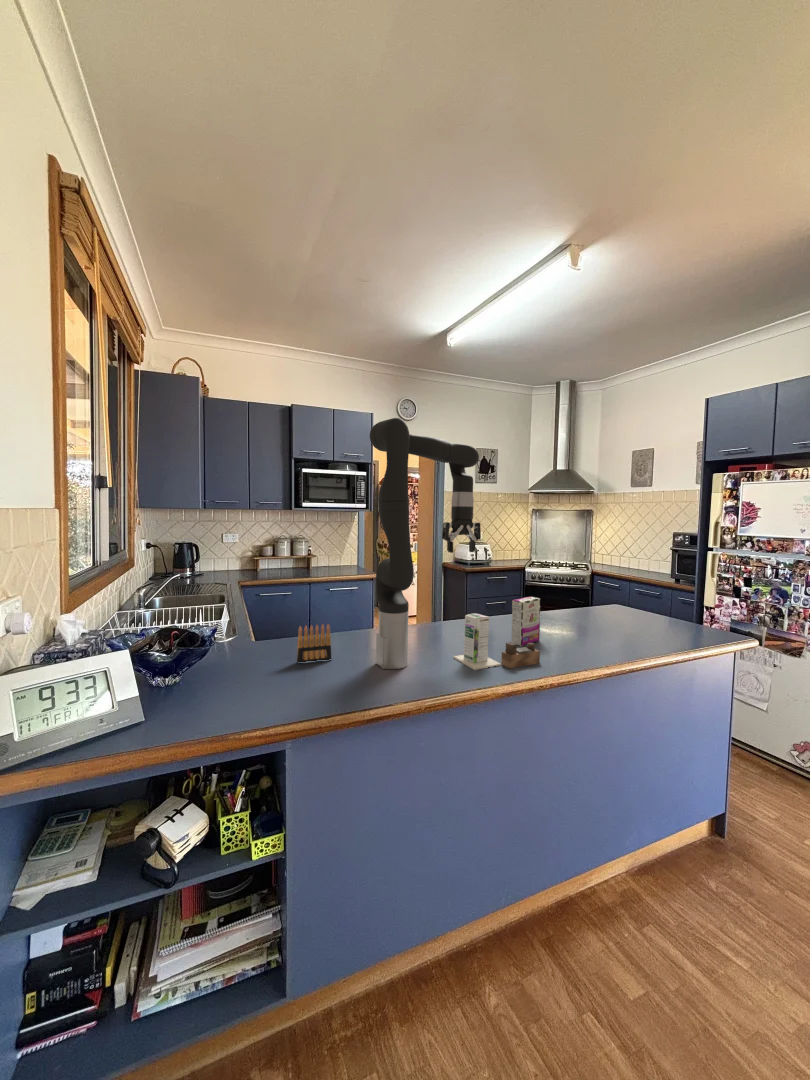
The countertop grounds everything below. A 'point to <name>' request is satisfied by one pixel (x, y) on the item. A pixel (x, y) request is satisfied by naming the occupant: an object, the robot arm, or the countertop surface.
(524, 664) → the body
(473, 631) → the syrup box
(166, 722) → the countertop surface
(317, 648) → the ammunition clip
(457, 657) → the mat
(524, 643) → the candy bar box
